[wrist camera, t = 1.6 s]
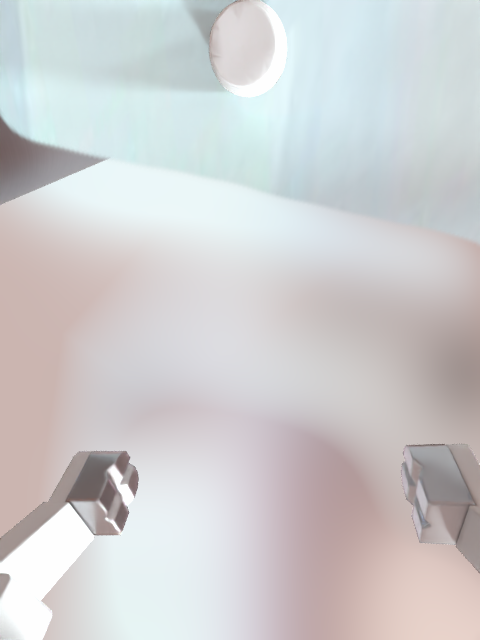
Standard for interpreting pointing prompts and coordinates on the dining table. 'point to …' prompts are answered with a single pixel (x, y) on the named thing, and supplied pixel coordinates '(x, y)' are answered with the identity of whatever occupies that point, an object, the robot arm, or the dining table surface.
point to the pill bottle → (247, 48)
